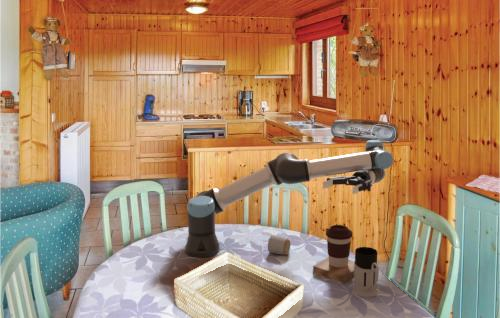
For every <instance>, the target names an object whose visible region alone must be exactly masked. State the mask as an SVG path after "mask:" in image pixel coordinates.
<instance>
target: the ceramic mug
mask: <svg viewBox="0 0 500 318" xmlns="http://www.w3.org/2000/svg"><path fill="white" fill-rule="evenodd" d="M290 249H291V241H290V239H289V238H286V237H283V236H280V235H275V234H272V235H270V236H269V239H268V242H267V252H268V253H270V254H276V255H283V256H287V255H288V254H289V252H290Z"/></svg>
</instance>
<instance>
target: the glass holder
mask: <svg viewBox="0 0 500 318" xmlns="http://www.w3.org/2000/svg"><path fill="white" fill-rule="evenodd" d="M354 261H355V262H354V278H353V287H352V289H351V290H352V292H353V293H354V294H355V295H357V296H360V297H363V298H371V297H375V296H377V295H378V293H379V291H378V289H377V284H378V282H379V276H380V275H379V274H380V271H379V270H380V269H379V266H378V250H377V249H375V248H374V247H367V246H360V247H357V248H355V251H354Z"/></svg>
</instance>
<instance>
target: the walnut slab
mask: <svg viewBox="0 0 500 318" xmlns="http://www.w3.org/2000/svg"><path fill="white" fill-rule="evenodd" d="M354 262H355V260H351V259H348V265H347V266H346V267H343V268H336V267H332V266H331V265H330V264H329V256H327V257H326V258H325V259H322V260H321V261H318V263H316V264H314V265H313V266H312V274H314V275H316V276H320V277H323V278H326V279H330V280H333V281H335V282H337V283H341V284H345V285H346V284H347V283H349V282H350V281H351V280H354Z"/></svg>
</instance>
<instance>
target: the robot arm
mask: <svg viewBox="0 0 500 318" xmlns="http://www.w3.org/2000/svg"><path fill="white" fill-rule="evenodd" d="M393 163H394V157H393V154H391V152H390V151H388V150H386V149H385V148H384V142H383V141H382V140H377V139H376V140H375V139H370V140H367V141H366V142H365V150H364V151H362V152H355V153H350V154H345V155H343V154H342V155H339V156H332V157H325V158H319V159H312V160H309V159H307V158H304V159H299V158H298V157H297V156H296V155H294V154H293V153H290V152H283V153H279V154H278V155H277V156H276V158H274V159H272V160H269V161H267V162H266V165H265V166H264V167H263V168H261V169H259V170H256V171H254V172H252V173H249V174H248V175H246V176H243V177H242V178H239V179H237V180H236V181H233V182H231V183H230V184H227V185H225V186H223V187H220V188H216V187H213V188H211V189H208V190H203V191H201V192H199V193H198V194H196V196H194V197H191V198H190V199H189V200H188V201H187V207H186V211H187V228H188V235H187V239H186V244H185V246H184V253H185V252H186V253H185V254H186V255H187V254H188V255H187V256H189V257H194V258H207V257H211V256H214V255H217V254H218V253H219V252H220V243H219V240H218V237H217V235H216V215H218V214H220V213H222V212H224V211H226V209H227V207H228V206H230V205H231V204H234V203H236V202H239V201H240V200H241V199H244V198H246V197H249V196H251V195H252V194H255V193H257V192H259V191H261V190H264V189H265V188H268V187H270V186H272V185H275V186H280V185H282V184H287V185H294V184H300V183H306V182H311V180H313V179H317V178H323V177H326V180H325V181H323V182H322V189H325V190H326V189H328V188H331V187H333V186H337V185H345V186H351V187H352V194H353V195H355V194H358V193H360V192H365V191H367V192H371V190H372V186H373V184H377V183H379V182H381V181H382V180H384V178H385V176H386V171H385V170H387V169H389V168H391V167H392V165H393ZM353 172H354V173H353ZM348 173H353V174H352V175H350V176H346V175H341V174H348ZM335 175H341V176H335ZM328 176H333V177H328Z"/></svg>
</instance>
